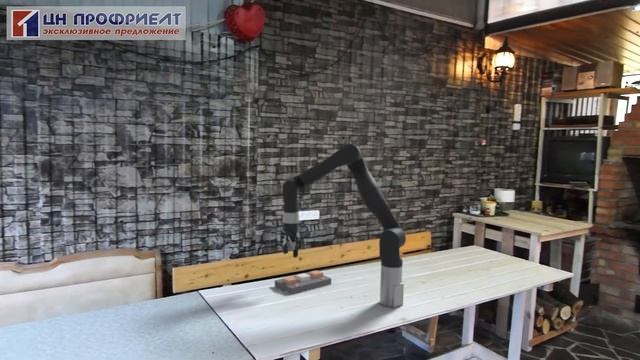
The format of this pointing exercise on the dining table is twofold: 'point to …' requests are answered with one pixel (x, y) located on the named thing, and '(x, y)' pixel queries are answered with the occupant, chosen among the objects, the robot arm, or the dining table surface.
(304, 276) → the key middle
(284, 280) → the key left
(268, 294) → the dining table surface
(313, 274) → the key right
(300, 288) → the keypad
